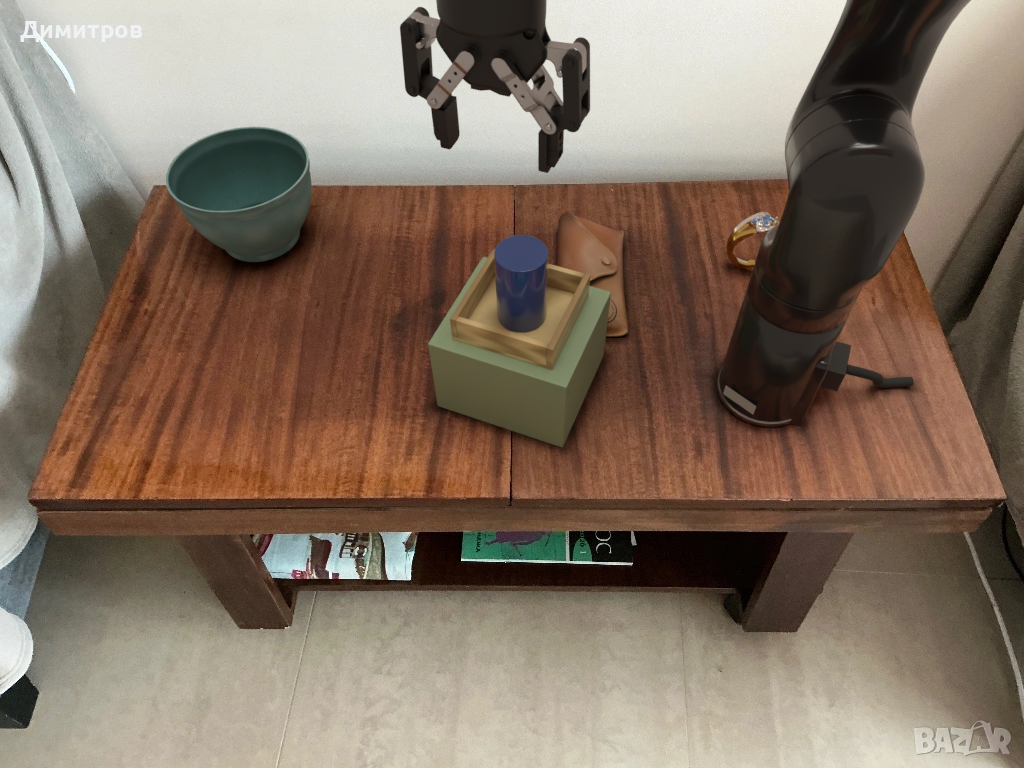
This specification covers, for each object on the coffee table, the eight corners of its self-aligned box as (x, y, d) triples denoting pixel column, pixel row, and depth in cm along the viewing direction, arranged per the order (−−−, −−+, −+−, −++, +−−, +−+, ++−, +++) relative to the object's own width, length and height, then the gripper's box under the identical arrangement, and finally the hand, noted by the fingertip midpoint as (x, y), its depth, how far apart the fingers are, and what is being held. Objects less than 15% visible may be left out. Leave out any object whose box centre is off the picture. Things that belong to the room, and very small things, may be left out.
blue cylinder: (553, 304, 76) (556, 242, 70) (535, 338, 73) (536, 277, 67) (508, 291, 77) (506, 229, 71) (489, 324, 74) (485, 263, 68)
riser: (603, 355, 85) (611, 291, 77) (562, 448, 78) (566, 387, 70) (486, 320, 89) (483, 256, 81) (437, 406, 81) (427, 344, 74)
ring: (721, 276, 92) (736, 224, 86) (719, 258, 94) (733, 206, 88) (781, 279, 92) (800, 227, 86) (777, 260, 94) (795, 208, 88)
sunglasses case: (633, 335, 86) (606, 298, 82) (577, 355, 89) (548, 320, 85) (624, 227, 97) (600, 190, 93) (575, 248, 100) (549, 213, 96)
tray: (588, 296, 77) (590, 274, 75) (552, 370, 71) (553, 349, 69) (494, 269, 80) (493, 248, 77) (452, 339, 74) (449, 318, 72)
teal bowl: (241, 186, 104) (216, 115, 96) (349, 211, 101) (332, 139, 92) (171, 266, 95) (136, 194, 87) (287, 296, 92) (262, 225, 83)
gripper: (363, -50, 50) (398, 162, 62) (573, -15, 46) (565, 203, 59) (416, -96, 54) (439, 112, 67) (612, -66, 50) (597, 147, 63)
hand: (498, 154), depth 63 cm, fingers open, 8 cm apart
